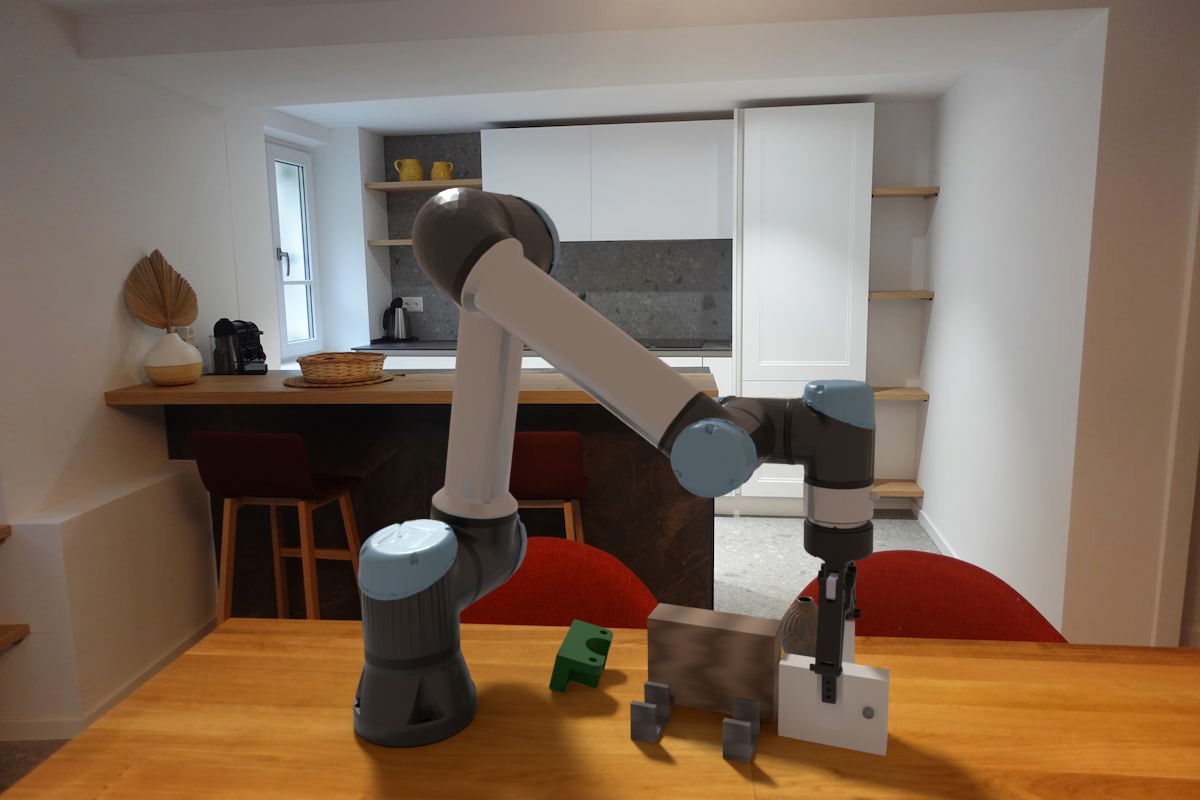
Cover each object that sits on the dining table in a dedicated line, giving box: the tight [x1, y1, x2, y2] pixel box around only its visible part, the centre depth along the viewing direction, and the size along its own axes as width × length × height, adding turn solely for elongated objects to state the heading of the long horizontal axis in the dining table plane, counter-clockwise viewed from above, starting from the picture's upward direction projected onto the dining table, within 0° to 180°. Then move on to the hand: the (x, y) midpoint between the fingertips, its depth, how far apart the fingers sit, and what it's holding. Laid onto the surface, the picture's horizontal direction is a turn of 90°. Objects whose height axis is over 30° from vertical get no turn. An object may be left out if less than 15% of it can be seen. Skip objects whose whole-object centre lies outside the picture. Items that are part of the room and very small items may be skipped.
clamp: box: [548, 618, 614, 695], centre depth 110 cm, size 12×6×9 cm, turn 164°
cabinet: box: [629, 602, 782, 764], centre depth 98 cm, size 16×14×11 cm
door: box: [777, 652, 891, 757], centre depth 94 cm, size 12×4×9 cm, turn 68°
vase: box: [781, 595, 819, 658], centre depth 114 cm, size 7×7×9 cm
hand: (836, 696), depth 94 cm, fingers open, 13 cm apart
